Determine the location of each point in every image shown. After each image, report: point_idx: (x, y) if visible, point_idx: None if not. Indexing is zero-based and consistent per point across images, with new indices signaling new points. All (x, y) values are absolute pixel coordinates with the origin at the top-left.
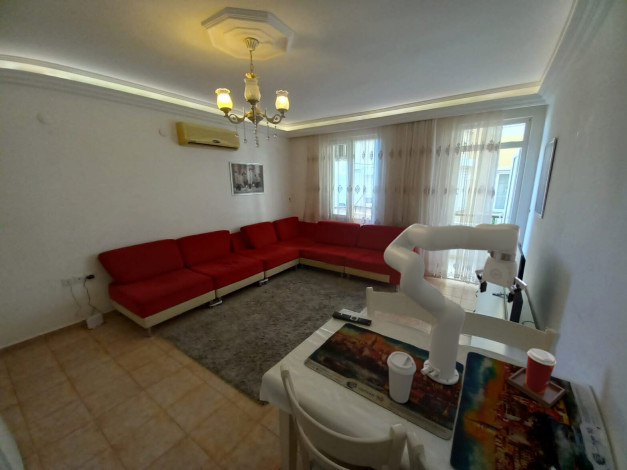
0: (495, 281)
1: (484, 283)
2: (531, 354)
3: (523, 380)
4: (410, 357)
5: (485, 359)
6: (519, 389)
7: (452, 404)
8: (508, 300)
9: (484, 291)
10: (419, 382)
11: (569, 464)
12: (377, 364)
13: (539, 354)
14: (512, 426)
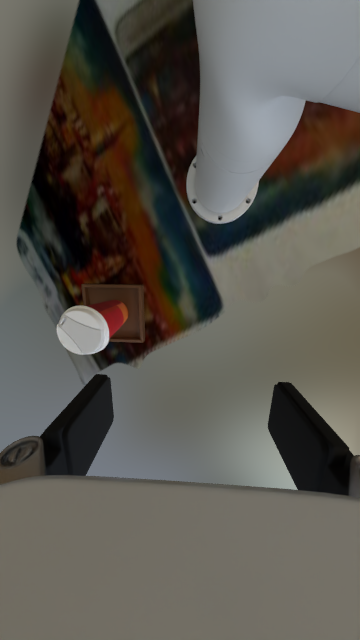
0: (177, 552)
1: (322, 477)
2: (90, 314)
3: (131, 313)
4: None
5: (193, 313)
6: (124, 284)
7: (159, 123)
8: (93, 381)
9: (271, 413)
10: None
11: (27, 196)
12: None
13: (81, 327)
14: (89, 187)
